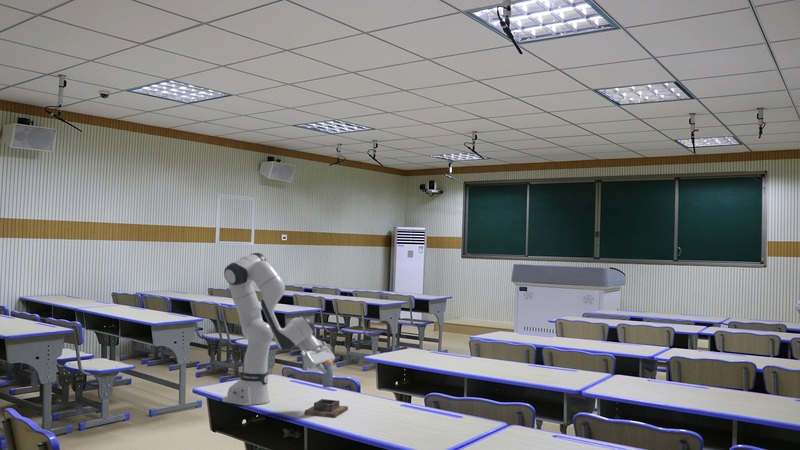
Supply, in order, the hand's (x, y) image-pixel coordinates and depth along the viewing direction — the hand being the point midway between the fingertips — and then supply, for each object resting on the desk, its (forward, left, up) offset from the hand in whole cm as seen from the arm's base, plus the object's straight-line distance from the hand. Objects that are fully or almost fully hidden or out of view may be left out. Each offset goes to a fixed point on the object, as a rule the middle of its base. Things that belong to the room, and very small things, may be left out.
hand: (329, 371), depth 283 cm
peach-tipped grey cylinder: (-1, 0, -7) cm, 7 cm away
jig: (-1, 0, -18) cm, 18 cm away
